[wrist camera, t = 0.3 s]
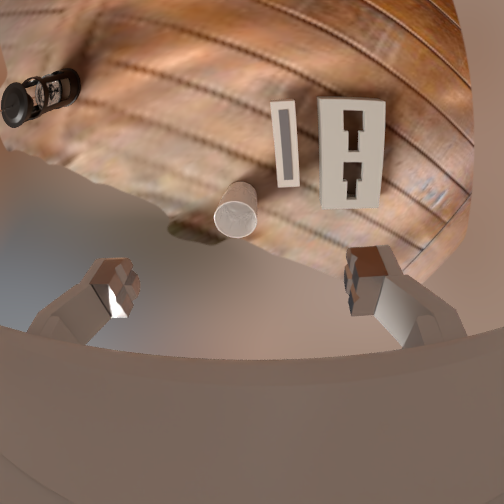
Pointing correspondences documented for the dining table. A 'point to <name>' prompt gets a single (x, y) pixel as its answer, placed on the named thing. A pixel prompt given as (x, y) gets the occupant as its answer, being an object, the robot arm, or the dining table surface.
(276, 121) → the cream rectangular block
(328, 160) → the mounting board
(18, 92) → the french press
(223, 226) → the white cup
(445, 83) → the dining table surface
